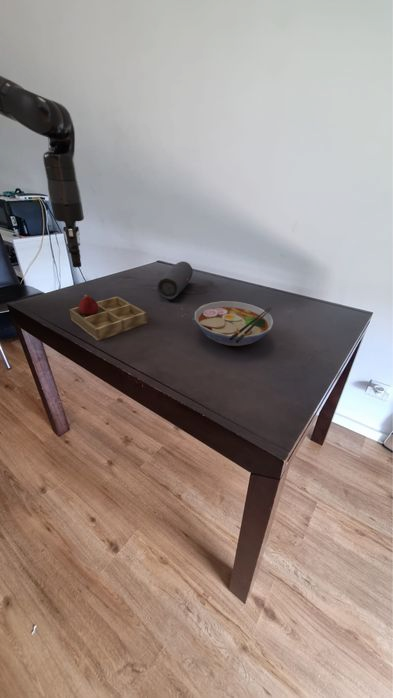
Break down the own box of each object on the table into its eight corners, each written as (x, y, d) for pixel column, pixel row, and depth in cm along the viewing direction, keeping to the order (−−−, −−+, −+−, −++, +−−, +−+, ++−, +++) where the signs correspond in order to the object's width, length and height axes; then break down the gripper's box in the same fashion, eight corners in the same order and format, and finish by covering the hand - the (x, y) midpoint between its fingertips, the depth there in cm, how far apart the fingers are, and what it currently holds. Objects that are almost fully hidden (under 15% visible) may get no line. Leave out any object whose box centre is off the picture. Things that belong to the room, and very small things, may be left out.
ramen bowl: (219, 314, 100) (221, 292, 96) (281, 334, 89) (287, 310, 85) (175, 343, 82) (175, 317, 78) (245, 372, 72) (250, 345, 67)
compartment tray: (97, 341, 82) (95, 329, 80) (71, 320, 92) (69, 309, 90) (147, 323, 92) (146, 312, 90) (118, 306, 102) (117, 296, 100)
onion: (98, 313, 95) (94, 290, 90) (101, 320, 90) (97, 296, 86) (79, 315, 92) (75, 292, 88) (82, 323, 88) (77, 299, 84)
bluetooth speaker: (180, 304, 106) (180, 278, 100) (156, 301, 107) (155, 275, 102) (193, 284, 125) (194, 261, 119) (173, 281, 126) (173, 258, 121)
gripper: (51, 197, 78) (63, 256, 87) (48, 203, 67) (62, 270, 76) (80, 197, 81) (89, 255, 89) (82, 203, 69) (92, 269, 78)
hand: (77, 262), depth 83 cm, fingers open, 8 cm apart
